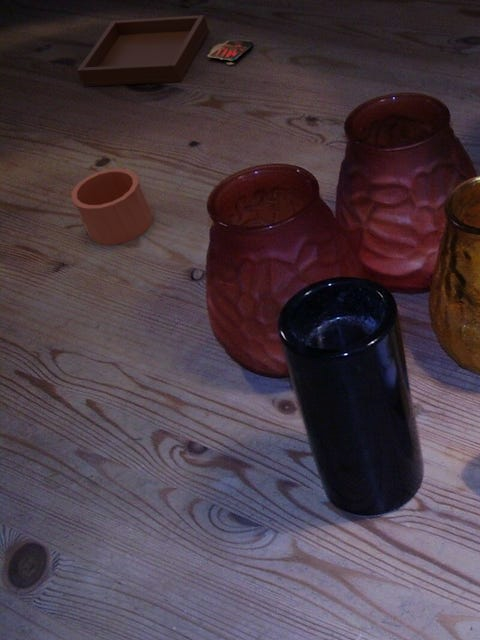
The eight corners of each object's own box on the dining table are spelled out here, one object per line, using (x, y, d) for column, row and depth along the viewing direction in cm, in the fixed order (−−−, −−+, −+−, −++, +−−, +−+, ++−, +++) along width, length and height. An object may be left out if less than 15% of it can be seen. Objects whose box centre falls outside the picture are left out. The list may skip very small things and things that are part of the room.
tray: (83, 86, 110) (76, 70, 108) (118, 36, 117) (112, 20, 116) (181, 82, 108) (175, 65, 107) (209, 31, 116) (204, 15, 114)
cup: (81, 250, 89) (61, 209, 85) (104, 209, 93) (85, 169, 89) (143, 248, 88) (125, 207, 85) (163, 207, 92) (146, 167, 89)
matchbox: (256, 41, 112) (255, 37, 112) (240, 65, 109) (239, 61, 109) (218, 41, 113) (216, 37, 113) (201, 65, 110) (199, 61, 110)
